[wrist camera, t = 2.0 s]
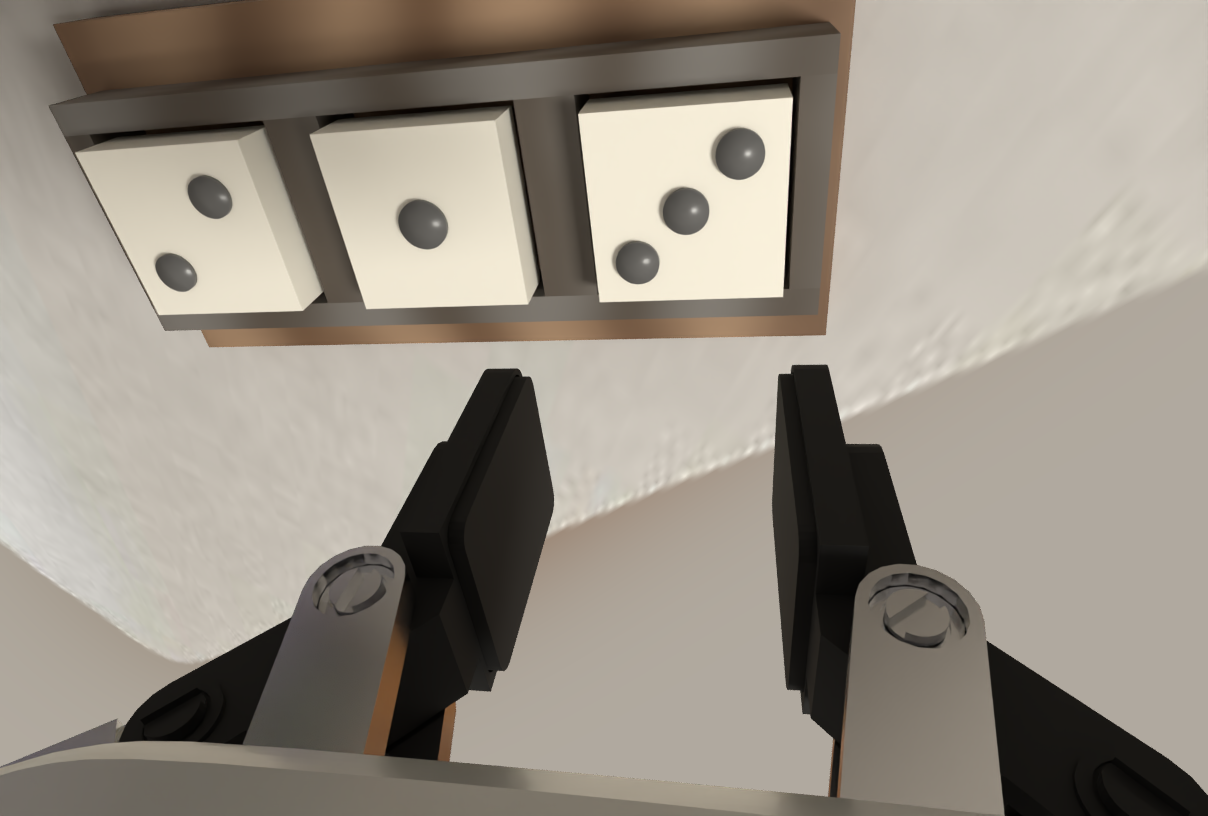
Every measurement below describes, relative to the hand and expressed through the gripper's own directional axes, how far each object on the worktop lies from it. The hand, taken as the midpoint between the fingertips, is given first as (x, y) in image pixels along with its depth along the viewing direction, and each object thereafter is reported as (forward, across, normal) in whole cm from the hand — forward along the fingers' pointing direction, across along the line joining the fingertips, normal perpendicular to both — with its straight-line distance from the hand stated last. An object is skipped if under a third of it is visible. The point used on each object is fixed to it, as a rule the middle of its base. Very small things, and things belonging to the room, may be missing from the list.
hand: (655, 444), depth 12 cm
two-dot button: (+14, +17, 0) cm, 22 cm away
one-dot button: (+14, +8, 0) cm, 16 cm away
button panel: (+17, +8, 0) cm, 19 cm away
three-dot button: (+14, 0, 0) cm, 14 cm away
